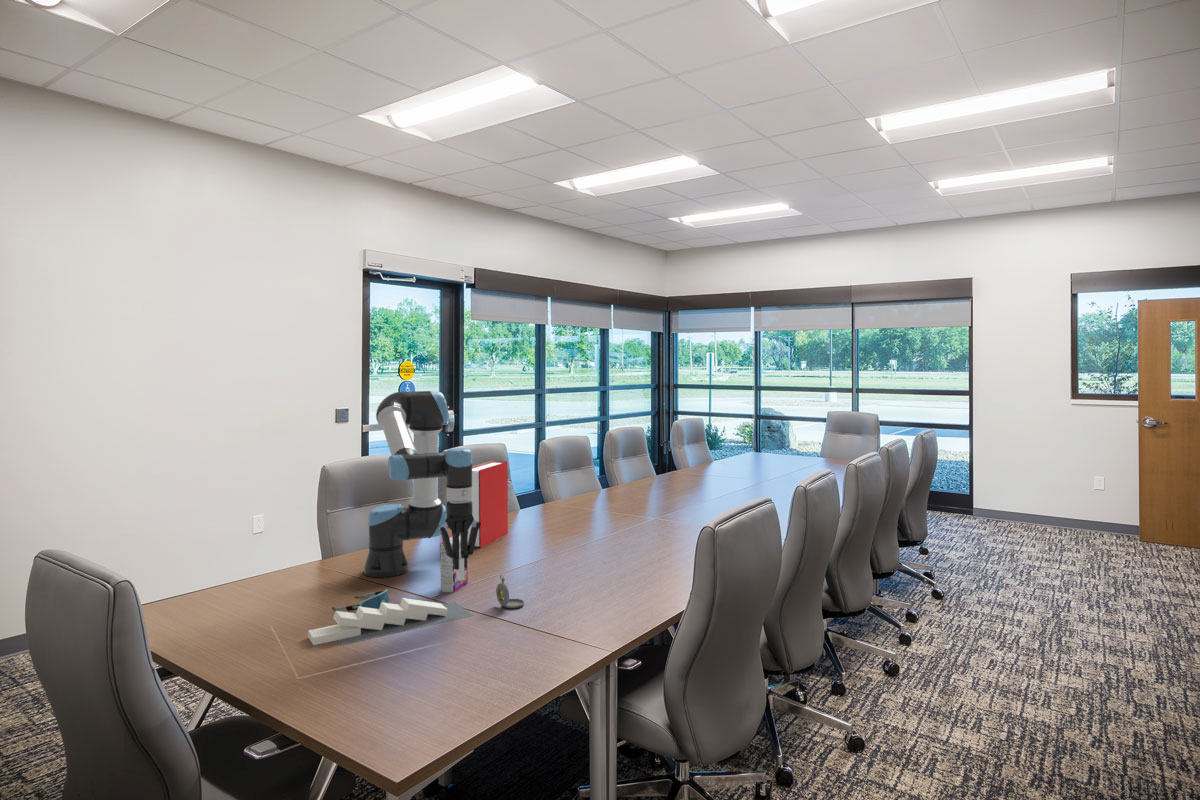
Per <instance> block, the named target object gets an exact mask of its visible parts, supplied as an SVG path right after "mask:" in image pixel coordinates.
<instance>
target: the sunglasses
mask: <svg viewBox="0 0 1200 800" xmlns="http://www.w3.org/2000/svg"><path fill="white" fill-rule="evenodd" d="M369 596H371V597H369ZM365 597H369V598H367V599H364V600H362V601H359V602H358V603H357V604H354V605H349V606H342V607H333V609H334V611H342V610H346V612H351V611H353V612H354V611H357V609H358V606H360V607H367V608H374V609H379V608H380V605H381V602H384V603H390V602H389V599H390V597H389V589H387V588H386V589H385V590H381V591H380V590H379V591H373V592H370V593H365V594H362V595H358V596H354V598H355V599H356V598H357V599H361V598H365Z"/></svg>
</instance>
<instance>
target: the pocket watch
mask: <svg viewBox="0 0 1200 800" xmlns="http://www.w3.org/2000/svg"><path fill="white" fill-rule="evenodd" d="M499 578H500V581H501V582H500V583H498V584H497V586H496V589H495V593H496V598H497V599H496V600H497V601H498V603H499V605H501V606H503V608H506V609H517V608H521V607H523V606H524V604H525V601H524V599H521V598H510V593H509V588H508V587H507V585H506V584H505V580H506V579H505V577H504V576H503V575H499Z"/></svg>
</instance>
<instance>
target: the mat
mask: <svg viewBox="0 0 1200 800" xmlns="http://www.w3.org/2000/svg"><path fill="white" fill-rule="evenodd" d="M441 604H442V603H441ZM442 605H443V606H444V607H446V608H447V609H448V610H447V614H446V616H442V615H434V614H428V615H427V618H426V621H424V620H416V619H408V618H406V619H405V623H404V626H403V625H395V624H388V623H384V626H383V629H382V630H375V629H367V628H361V635H358V636H354V637H349V638H345V639H340V640H336V641H337V642H338V643H339V644H340V646H344V645H349V644H353V643H359V642H363V641H367V640H371V639H376V638H380V637H384V636H390V635H393V634H399V633H402V632H406V631H411V630H416V629H422V628H425V627H429V626H434V625H438V624H442V623H446V622H452V621H456V620H460V619H464V618H468V617H469V618H470V617H473V616H474V614H473V613H471V612H470V611H469V610H468V609H466V608H464V607H463V606H461V605H460V604H459V603H457V602H456V601H452V602H448V603H443V604H442Z"/></svg>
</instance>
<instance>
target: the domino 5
mask: <svg viewBox="0 0 1200 800" xmlns="http://www.w3.org/2000/svg"><path fill="white" fill-rule="evenodd" d="M399 603H400V604H399V605H401V606H402V607H403V608H404V609H405V610H406V611H411V612H419V613H426V614H434V615H442V616H446V614H447V610H448V609H447V608H446V607H444V606H443V605H442V603H440V602H435V601H434V602H433V601H426V600H421V599H413V598H405V597H401V600H400V602H399Z"/></svg>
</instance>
